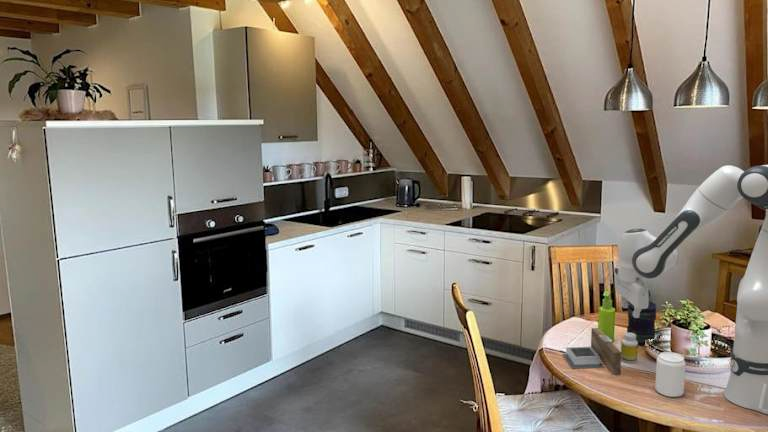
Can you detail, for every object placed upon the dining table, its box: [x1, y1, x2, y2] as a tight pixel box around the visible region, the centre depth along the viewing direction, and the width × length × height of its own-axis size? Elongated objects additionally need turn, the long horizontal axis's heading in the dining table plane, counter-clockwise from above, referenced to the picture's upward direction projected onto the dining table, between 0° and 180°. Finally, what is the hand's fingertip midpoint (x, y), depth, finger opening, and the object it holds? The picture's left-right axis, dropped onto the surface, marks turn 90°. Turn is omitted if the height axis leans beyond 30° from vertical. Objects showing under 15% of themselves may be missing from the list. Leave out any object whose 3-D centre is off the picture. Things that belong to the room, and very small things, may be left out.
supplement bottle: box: [620, 331, 639, 364], centre depth 208 cm, size 5×5×10 cm
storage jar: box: [626, 301, 657, 347], centre depth 224 cm, size 10×10×15 cm
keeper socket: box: [562, 346, 605, 370], centre depth 209 cm, size 11×11×4 cm
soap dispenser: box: [597, 290, 616, 344], centre depth 224 cm, size 6×7×20 cm
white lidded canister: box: [654, 351, 686, 398], centre depth 185 cm, size 8×8×12 cm
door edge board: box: [590, 327, 622, 376], centre depth 209 cm, size 3×22×9 cm, turn 0°
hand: (630, 312), depth 206 cm, fingers open, 8 cm apart
